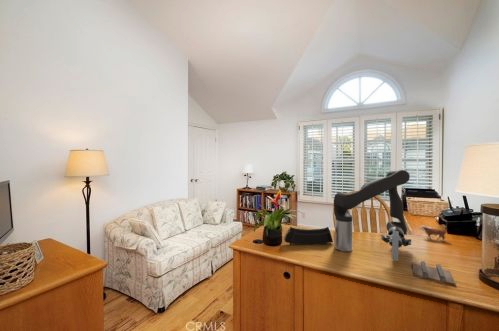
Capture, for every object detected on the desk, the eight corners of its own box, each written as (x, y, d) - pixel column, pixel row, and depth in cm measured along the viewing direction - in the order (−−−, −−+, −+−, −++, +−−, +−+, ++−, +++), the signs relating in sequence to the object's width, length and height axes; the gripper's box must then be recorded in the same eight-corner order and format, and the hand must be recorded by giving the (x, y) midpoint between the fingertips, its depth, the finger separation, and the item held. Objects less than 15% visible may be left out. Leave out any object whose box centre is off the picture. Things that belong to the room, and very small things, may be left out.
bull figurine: (419, 235, 152) (419, 224, 152) (445, 240, 144) (445, 227, 144) (419, 237, 149) (420, 225, 148) (446, 242, 141) (446, 229, 141)
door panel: (391, 259, 106) (392, 234, 106) (392, 253, 113) (392, 230, 113) (397, 260, 105) (398, 235, 105) (398, 254, 112) (398, 231, 111)
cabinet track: (413, 276, 100) (413, 269, 100) (412, 264, 110) (412, 258, 110) (455, 286, 92) (455, 279, 92) (449, 272, 103) (449, 266, 102)
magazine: (334, 228, 141) (290, 215, 139) (337, 230, 137) (292, 217, 135) (327, 253, 141) (282, 241, 139) (329, 256, 138) (284, 243, 135)
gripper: (381, 226, 126) (379, 234, 111) (411, 230, 118) (413, 240, 103) (381, 239, 126) (378, 249, 112) (411, 244, 118) (412, 256, 104)
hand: (395, 244), depth 108 cm, fingers closed on door panel, 2 cm apart
